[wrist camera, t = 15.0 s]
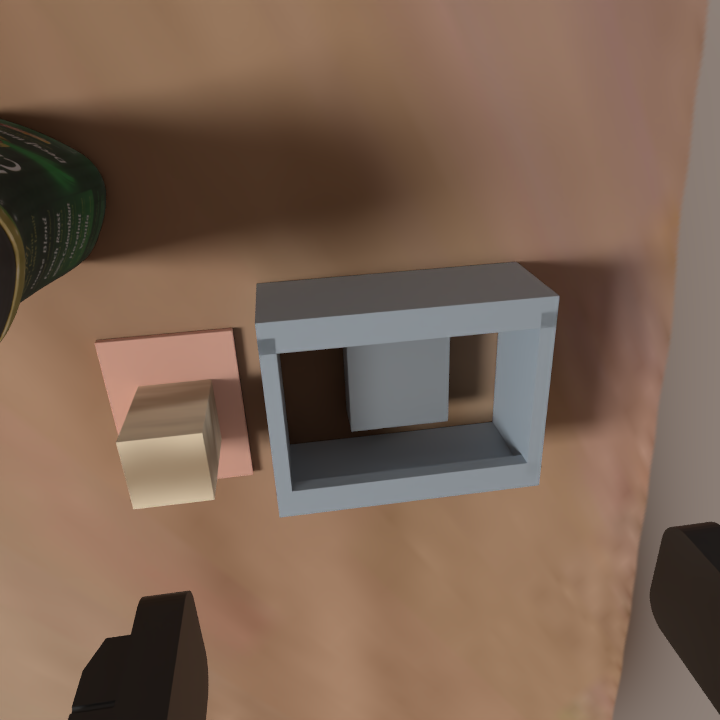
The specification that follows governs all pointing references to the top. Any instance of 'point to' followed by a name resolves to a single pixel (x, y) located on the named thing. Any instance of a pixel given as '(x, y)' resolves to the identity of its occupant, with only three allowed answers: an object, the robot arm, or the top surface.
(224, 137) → the top surface
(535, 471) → the box
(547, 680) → the top surface
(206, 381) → the maple block
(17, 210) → the coffee jar
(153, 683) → the robot arm
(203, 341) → the terracotta mat
